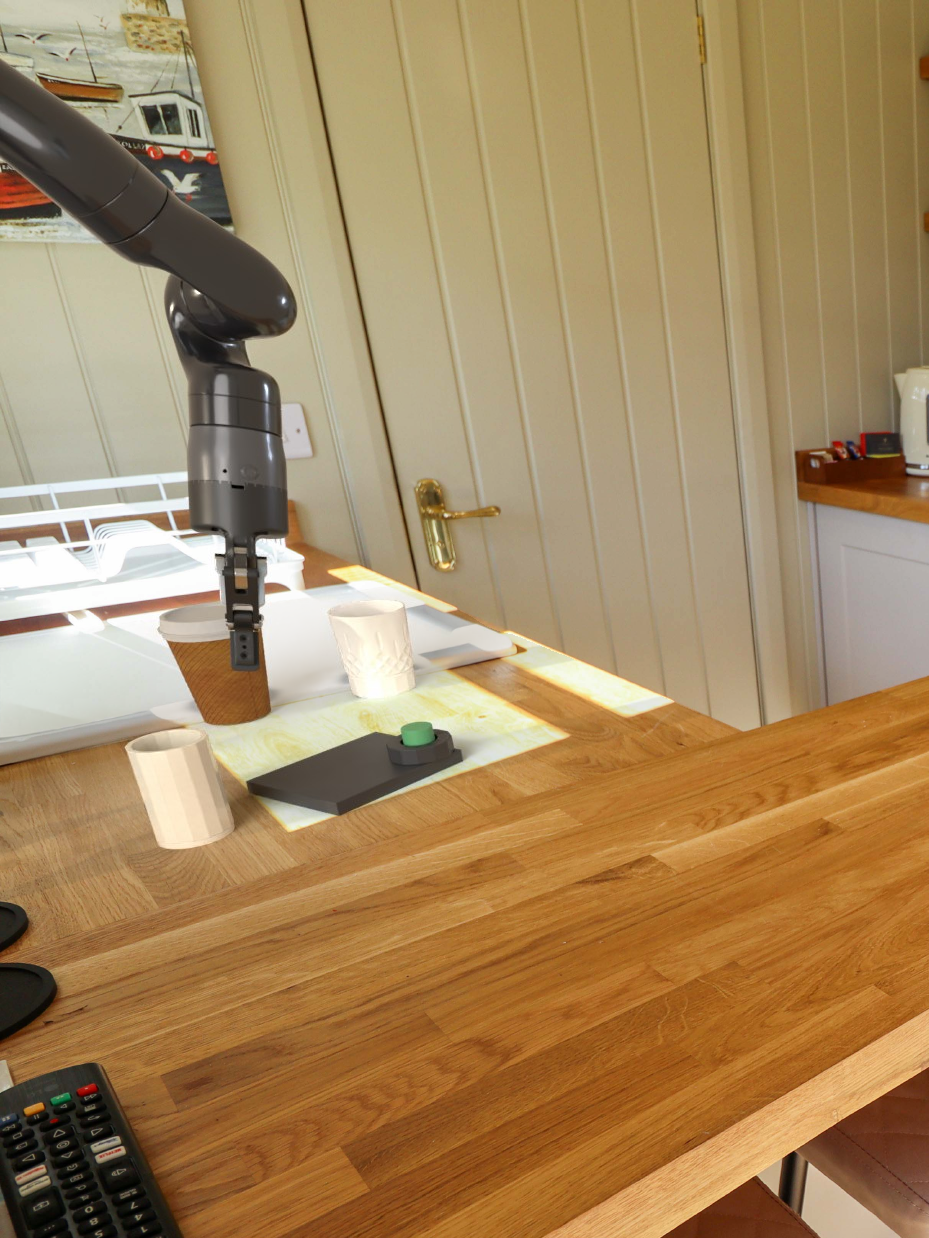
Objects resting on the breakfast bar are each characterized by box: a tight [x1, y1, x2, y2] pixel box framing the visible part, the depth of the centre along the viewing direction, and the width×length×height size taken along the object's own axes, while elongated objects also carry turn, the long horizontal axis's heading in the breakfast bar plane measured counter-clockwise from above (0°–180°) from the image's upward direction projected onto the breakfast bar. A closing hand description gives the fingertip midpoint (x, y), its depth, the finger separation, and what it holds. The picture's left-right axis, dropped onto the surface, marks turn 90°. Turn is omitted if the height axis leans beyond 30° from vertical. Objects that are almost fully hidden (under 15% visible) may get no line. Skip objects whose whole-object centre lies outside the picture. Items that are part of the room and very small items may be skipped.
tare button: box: [400, 721, 435, 746], centre depth 109 cm, size 3×3×2 cm
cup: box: [124, 727, 236, 850], centre depth 94 cm, size 6×6×9 cm
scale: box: [245, 728, 464, 817], centre depth 107 cm, size 14×12×3 cm
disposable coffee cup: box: [156, 601, 272, 726], centre depth 120 cm, size 10×10×12 cm
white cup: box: [327, 599, 417, 699], centre depth 129 cm, size 8×8×10 cm
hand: (245, 670), depth 102 cm, fingers closed
